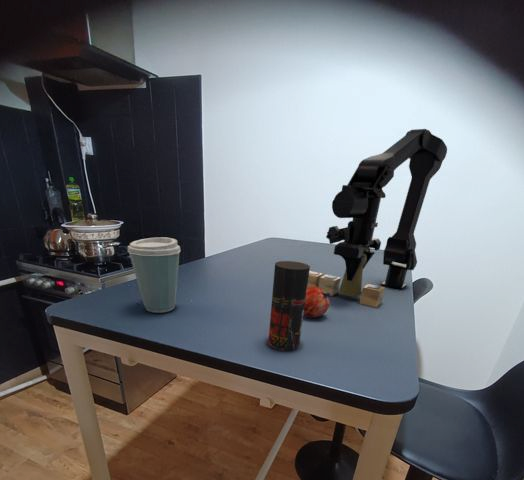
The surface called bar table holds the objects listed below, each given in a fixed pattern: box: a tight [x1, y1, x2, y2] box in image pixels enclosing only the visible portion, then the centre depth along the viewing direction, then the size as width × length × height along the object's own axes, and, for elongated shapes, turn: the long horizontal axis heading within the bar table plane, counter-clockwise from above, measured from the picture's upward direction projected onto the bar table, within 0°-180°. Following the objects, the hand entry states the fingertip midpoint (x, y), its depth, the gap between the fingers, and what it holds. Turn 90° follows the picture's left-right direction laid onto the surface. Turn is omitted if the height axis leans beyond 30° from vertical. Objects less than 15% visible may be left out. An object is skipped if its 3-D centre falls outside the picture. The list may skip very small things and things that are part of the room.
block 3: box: [359, 283, 386, 308], centre depth 85 cm, size 4×4×5 cm
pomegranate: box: [303, 286, 333, 319], centre depth 73 cm, size 7×7×10 cm
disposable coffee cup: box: [127, 236, 182, 314], centre depth 69 cm, size 11×11×15 cm
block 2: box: [318, 274, 342, 297], centre depth 91 cm, size 4×4×5 cm
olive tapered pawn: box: [338, 253, 367, 297], centre depth 86 cm, size 6×6×11 cm
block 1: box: [307, 270, 324, 287], centre depth 93 cm, size 4×4×5 cm
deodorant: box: [267, 260, 311, 352], centre depth 57 cm, size 6×6×15 cm
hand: (352, 279), depth 86 cm, fingers closed on olive tapered pawn, 4 cm apart
